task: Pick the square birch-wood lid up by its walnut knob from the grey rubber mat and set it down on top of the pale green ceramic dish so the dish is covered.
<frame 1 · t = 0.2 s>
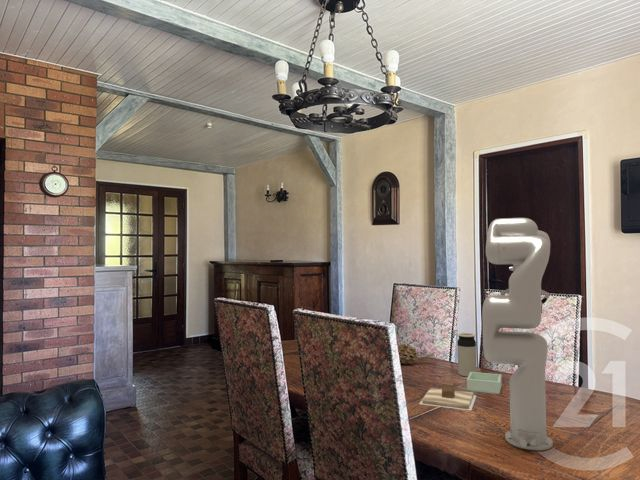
hand: (525, 314, 175), 31 cm above the table, tool pointing down, fingers open, 9 cm apart
dish: (484, 389, 184), on the table
mat: (448, 401, 170), on the table
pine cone: (412, 364, 226), on the table
lid: (448, 399, 170), point 1 cm above the table, touching mat
travel mug: (467, 375, 205), on the table
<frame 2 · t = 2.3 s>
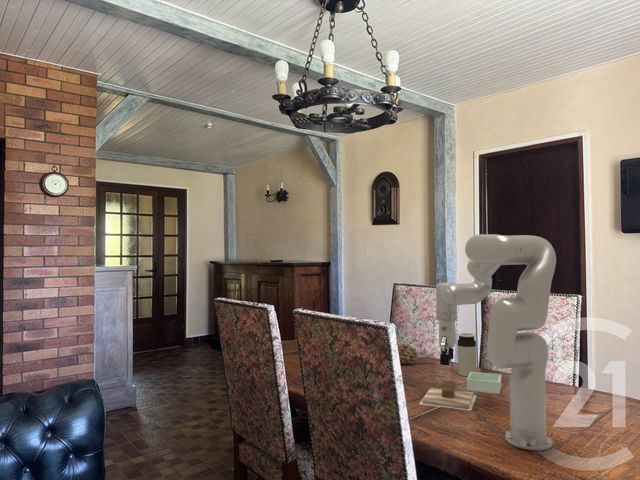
hand: (446, 361, 171), 14 cm above the table, tool pointing down, fingers open, 9 cm apart
nothing on the table moved.
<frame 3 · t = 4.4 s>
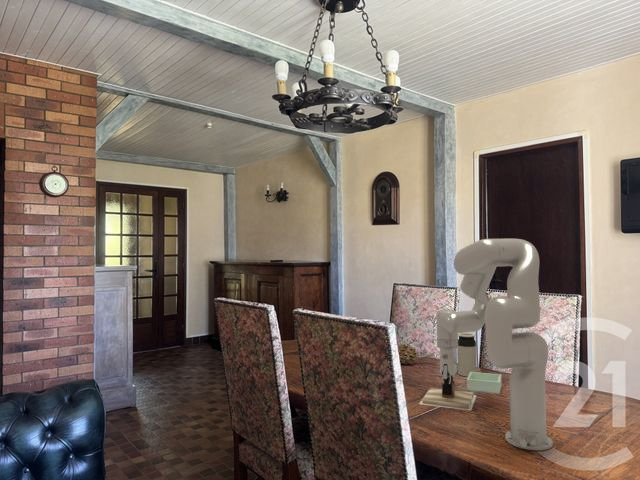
hand: (448, 392, 170), 3 cm above the table, tool pointing down, fingers closed on lid, 4 cm apart
lid: (448, 399, 170), point 1 cm above the table, touching gripper, mat
everything else where it was.
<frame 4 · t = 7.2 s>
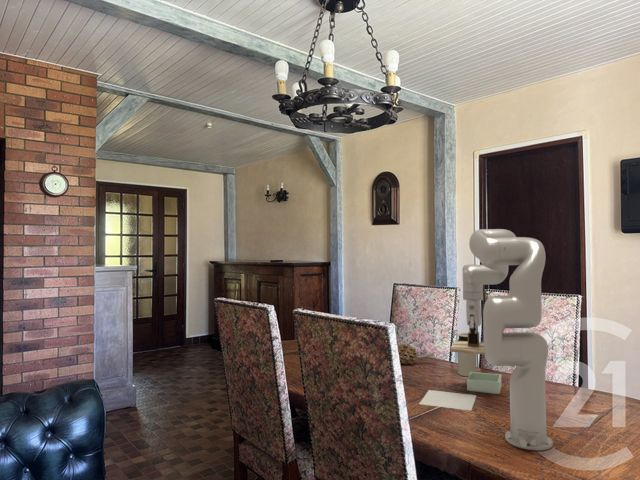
hand: (473, 342, 180), 20 cm above the table, tool pointing down, fingers closed on lid, 4 cm apart
lid: (473, 348, 180), point 17 cm above the table, touching gripper
everything else where it was.
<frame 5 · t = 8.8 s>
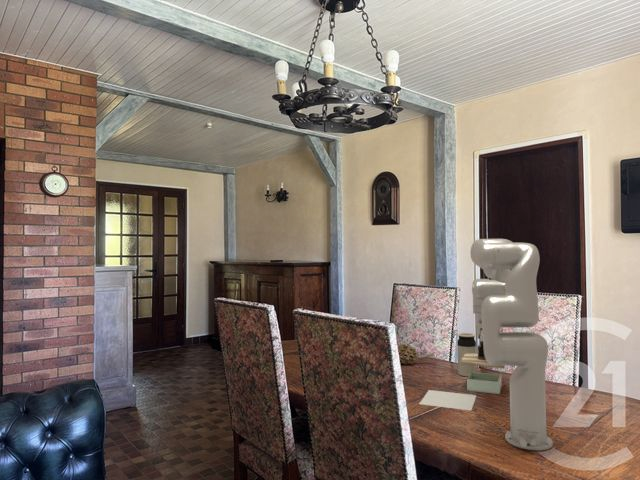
hand: (483, 354, 184), 14 cm above the table, tool pointing down, fingers closed on lid, 4 cm apart
lid: (483, 361, 184), point 11 cm above the table, touching gripper
everything else where it was.
when the fingers open (9 cm above the table, at t = 10.3 s): lid drops 1 cm, resting on dish.
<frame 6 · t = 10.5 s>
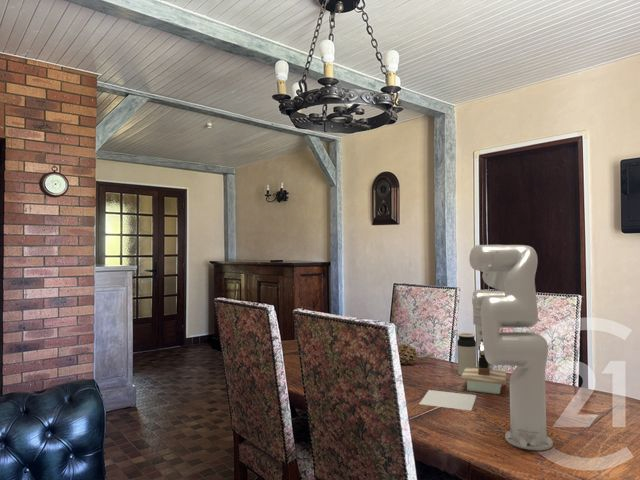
hand: (484, 365, 184), 10 cm above the table, tool pointing down, fingers open, 5 cm apart
lid: (484, 376, 184), point 5 cm above the table, touching dish
everything else where it was.
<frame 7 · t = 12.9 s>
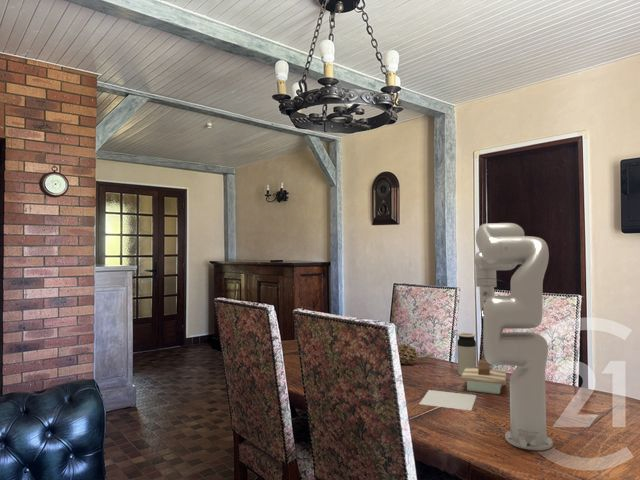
hand: (487, 327, 178), 26 cm above the table, tool pointing down, fingers open, 9 cm apart
nothing on the table moved.
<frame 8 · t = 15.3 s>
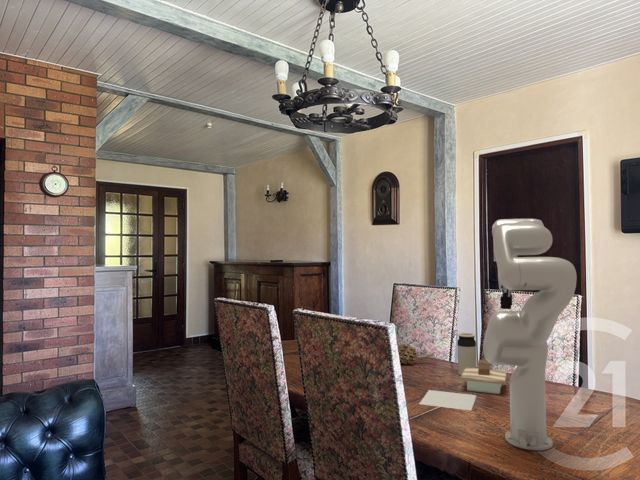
hand: (506, 307, 157), 36 cm above the table, tool pointing down, fingers open, 9 cm apart
nothing on the table moved.
at the end: lid 0.1 cm off-centre on the dish, point 5.0 cm above the dish's base; lid tilted 0°; the gripper is holding nothing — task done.
